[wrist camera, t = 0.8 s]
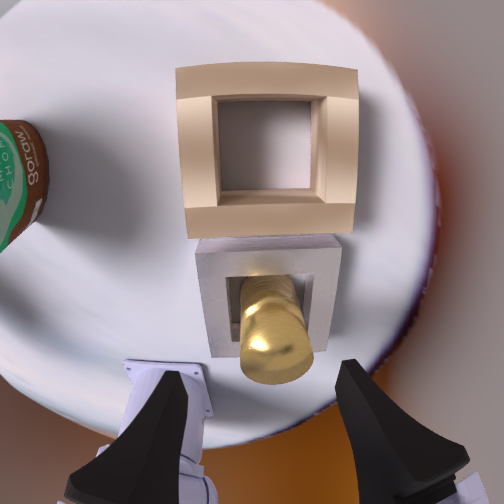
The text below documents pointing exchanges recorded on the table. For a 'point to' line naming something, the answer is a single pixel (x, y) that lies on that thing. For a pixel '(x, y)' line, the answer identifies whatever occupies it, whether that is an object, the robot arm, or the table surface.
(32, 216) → the food container
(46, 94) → the table surface
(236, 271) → the socket block
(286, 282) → the peg
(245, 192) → the beige square frame
